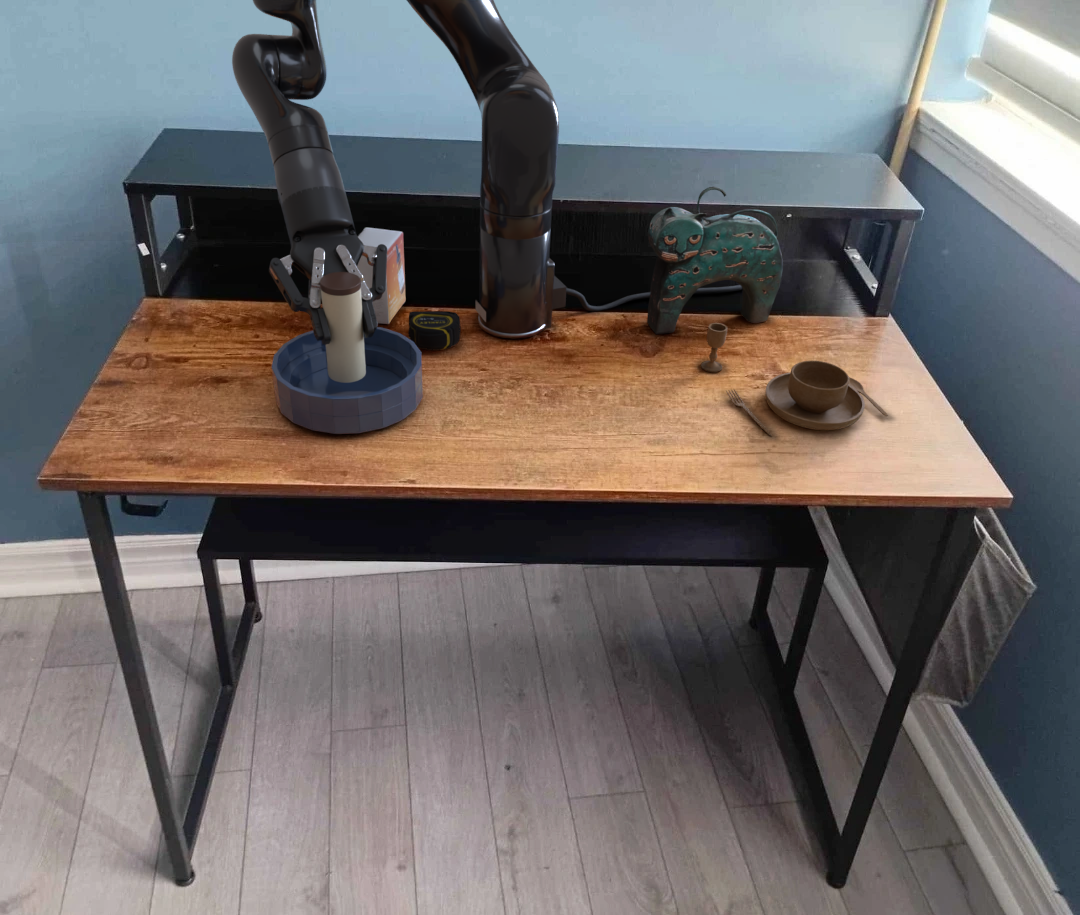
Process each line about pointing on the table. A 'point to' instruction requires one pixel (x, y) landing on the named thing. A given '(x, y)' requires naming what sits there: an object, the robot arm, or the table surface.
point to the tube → (344, 326)
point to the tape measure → (434, 329)
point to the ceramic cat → (711, 261)
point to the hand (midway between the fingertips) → (348, 338)
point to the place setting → (803, 391)
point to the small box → (394, 273)
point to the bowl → (348, 384)
